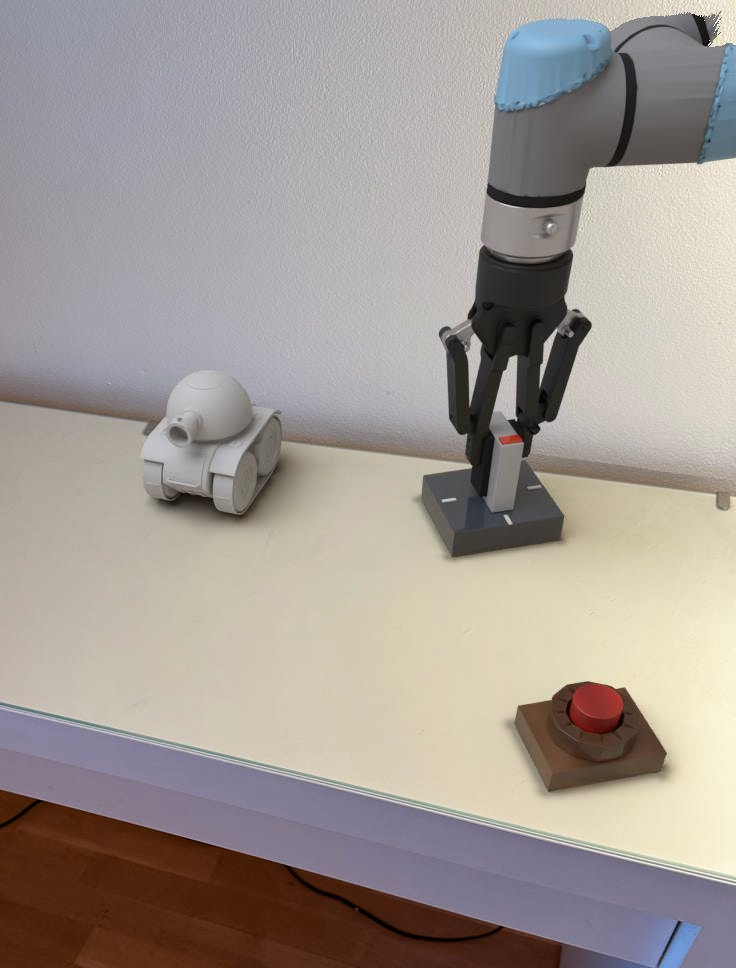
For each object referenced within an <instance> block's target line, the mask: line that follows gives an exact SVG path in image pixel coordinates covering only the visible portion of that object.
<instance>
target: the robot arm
mask: <svg viewBox="0 0 736 968" xmlns="http://www.w3.org/2000/svg"><path fill="white" fill-rule="evenodd" d="M720 13H721V11H720V12H719V14H720ZM711 14H712V13H711ZM716 14H717V13H716ZM719 14H718V15H717V16H716V15H715V14H712V15H711V17H710V15H709V16H708V17H707V16H705V15H704V16H703V17H702V15H701V17H700V15H699V16H697V15H695V14H691V13H690V12H689V13H688V12H687V13H686V14H685V12H684V14H682V13H681V14H680V13H679V14H678V15H677V14H676V15H671V16H669V15H668V16H667V15H666V16H665V17H664V16H650V17H643V18H637V19H634V20H630V21H628V22H625V23H623V24H621V25H620V26H619V27H617V28H615V29H614V30H612V31H609V29H608V28H607V27H606V26H604V25H603V24H601V23H598V22H594V21H589V19H582V18H575V19H568V18H547V19H546V18H545V19H539V20H534V21H530V22H527V23H524V24H522V25H519V26H518V27H517V28H515V29H513V30H512V32H511V33H510V34H508V37H507V39H506V40H505V41H504V45H503V50H502V56H501V61H500V67H499V73H498V80H497V86H496V91H495V94H494V96H493V104H494V112H493V124H492V134H491V143H490V155H489V165H488V175H487V183H486V190H485V198H484V205H483V213H482V222H481V231H480V241H481V243H482V244H483V245H482V246H481V247H480V249H479V251H478V259H477V260H478V261H477V267H476V278H475V287H474V288H475V289H474V301H473V304H472V305H471V308H470V309H469V311H468V313H467V316H466V317H467V318H466V320H464V321H462V322H461V323H459V324H457V325H456V326H454V327H453V328H451V326H449V325H445V326H443V327H441V328H440V329H439V331H438V337H439V340H440V341H441V343H442V346H443V348H444V350H445V356H446V359H445V360H446V380H447V381H446V382H447V405H448V419H449V422H450V423H451V424H452V426H453V428H454V430H455V431H456V432H457V434H458V435H459V436H465V435H466V441H465V451H464V455H465V458H466V459H467V461H468V462H469V464H470V466H471V468H472V471H471V479H470V482H471V484H472V486H473V487H474V489H475V490H476V492H477V494H478V495H479V497H483V496H487V492H488V484H489V477H490V470H491V463H492V455H493V448H494V441H495V437H494V436H493V435H492V433H491V432H490V430H489V426H490V422H491V418H492V414H493V412H494V410H495V406H496V402H497V397H498V393H499V390H500V389H499V388H500V386H501V383H502V377H503V373H504V372H505V371H507V368H508V365H509V361H510V358H512V357H516V382H515V383H516V385H515V386H516V387H515V417H516V419H515V418H512V419H511V418H510V419H507V420H508V422H509V423H510V424H511V426H512V427H513V429H514V430H515V431H516V433H517V434H518V435H519V436H520V437H521V439H522V441H523V443H524V446H523V453H522V459H525V458H528V457H529V456H530V454H531V451H532V445H533V440H534V439H533V438H534V436H536V435H538V434H539V433H540V431H541V430H542V428H541V427H540V424H542V423H545V422H546V423H552V422H554V421H555V420H556V419H557V417H558V415H559V411H560V408H561V405H562V402H563V399H564V396H565V394H566V393H565V392H566V389H567V386H568V383H569V380H570V377H571V374H572V370H573V367H574V364H575V361H576V358H577V354H578V352H579V349H580V346H581V344H582V343H583V342H584V340H585V339H586V337H587V336H588V335H589V333H590V331H591V330H592V327H593V324H592V322H591V320H590V319H589V318H588V317H586V315H585V314H584V313H583V312H582V311H580V309H578V308H573V309H569V308H568V305H567V301H566V297H565V296H566V295H567V293H568V289H569V283H570V277H571V272H572V267H573V260H574V252H573V250H572V249H571V248H573V247H574V246H575V243H576V241H577V236H578V230H579V224H580V219H581V212H582V207H583V202H584V197H585V193H586V188H587V179H588V176H589V172H590V169H593V168H614V167H633V166H656V165H657V166H658V165H659V166H660V165H677V164H678V165H679V164H681V165H682V164H696V165H703V164H704V163H711V162H718V161H725V160H732V159H736V45H733V44H732V43H726V44H725V45H722V46H715V47H709V46H710V45H711V44H712V43H713V40H714V39H715V38H716V37H717V32H718V29H719V28H718V29H717V30H716V31H715V29H716V27H717V24H719V23H718V22H719V21H718V22H717V23H716V24H715V22H716V21H717V19H718V17H719ZM715 16H716V17H715ZM709 17H710V18H709ZM714 18H715V19H714ZM721 18H722V17H721ZM721 18H720V19H719V20H721ZM713 19H714V20H713ZM704 20H705V21H704ZM714 24H715V26H714ZM713 26H714V27H713ZM719 27H720V26H719ZM714 32H715V33H714ZM720 33H721V32H720ZM720 33H719V34H720ZM719 34H718V35H719ZM709 40H710V41H709ZM710 42H711V44H710V45H709V46H708V44H709V43H710ZM556 330H557V331H556ZM555 331H556V333H555V336H554V339H553V341H552V345H551V348H550V350H549V351H550V352H549V355H548V358H547V360H546V361H547V362H546V364H545V369H544V372H543V375H542V379H541V366H542V365H543V364H544V350H545V343H546V342H547V341H548V339H550V337H551V336H552V334H553V333H554V332H555ZM474 334H475V336H476V338H477V339H478V340H479V342H480V343H481V346H480V350H479V351H480V352H479V356H480V362H479V366H478V370H477V373H476V374H477V375H476V378H475V384H474V387H473V391H472V396H471V400H470V371H469V370H470V368H469V367H470V366H469V359H468V355H467V353H468V352H469V351H470V350H471V345H472V343H471V340H472V339H471V338H472V337H473V335H474Z"/></svg>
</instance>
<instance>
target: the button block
mask: <svg viewBox="0 0 736 968" xmlns="http://www.w3.org/2000/svg"><path fill="white" fill-rule="evenodd" d="M587 684H601V685H605V686H607V687H610V688H612V689H613V690H615V691H616V692H617V693H618V694H619V695H620V696H621V698H622V700H623V710H622V713H621V717H620V720H619V723H618V725H617V727H616V728H615V729H614V730H612V731H610V732H608V733H604V734H595V733H591V732H586V731H584V730H582V729H580V728H579V727H577V726H576V725H575V724H574V723H573V721H572V719H571V717H570V707H571V703H572V700H573V696H574V693H575V691H576V690H577V689H578V688H580V687H581V686H583V685H587ZM513 724H514V726H515V728H516V730H517V732H518V734H519V736H520V739H521V741H522V742H523V744H524V746H525V748H526V750H527V752H528V754H529V756H530V758H531V760H532V762H533V764H534V765H535V768H536V770H537V773H538V775H539V776H540V778H541V781H542V782H543V784H544V787H545V788H546V790H547V792H554V791H558V790H563V789H564V790H565V789H570V788H575V787H580V786H581V787H582V786H586V785H592V784H598V783H604V782H608V781H614V780H618V779H626V778H630V777H636V776H643V775H646V774H653V773H658V772H661V771H662V768H663V765H664V763H665V760H666V757H667V755H668V752H667V751H666V749H665V747H664V746H663V744H662V743H661V741H660V740H659V737H658V736H657V734H655V731H654V729H652V727H651V725H650V724H649V721H648V720H647V719H646V717H645V716H644V715H643V712H642V711H641V710H640V708H639V706H638V705H637V703H636V702H635V701H634V699H633V697H632V696H631V693H630V692H629V691H628V690H627V688H626V687H625V686H624V687H619V688H615V687H614V686H612V685H609V684H605V683H600V682H596V681H595V682H594V681H591V680H586V681H579V682H574V683H567V684H566V685H564V686H563V687H562V688H560V689H559V690H558V691H557V692H556V693H554V694H553V695H552V697H551V699H549V700H543V701H537V702H531V703H525V704H520V705H519V704H518V705H517V707H516V713H515V719H514V723H513Z"/></svg>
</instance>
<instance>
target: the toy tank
mask: <svg viewBox="0 0 736 968" xmlns="http://www.w3.org/2000/svg"><path fill="white" fill-rule="evenodd" d="M165 413H166V415H165V416H164V418H162V420H161V421H160V422H159V423H158V424H157V426H155V428H154V429H153V430H152V431H151V432H150V433H149V435H148V436H147V438H146V440H145V441H144V444H143V446H142V448H141V451H140V455H139V459H140V460H143V465H142V482H143V483H142V484H143V487H144V491H145V492H146V494H147V495H148V496H149V497H151V498H156V499H160V500H164V501H170V502H172V501H175V500H176V499H177V498H179V497H180V495H182V493H183V494H185V493H187V494H190V495H193V496H196V495H198V496H201V497H203V498H206V497H207V498H212V500H213V504H214V506H215V508H216V509H217V510H218V511H219V512H222V513H228V514H233V515H238V516H242V515H243V514H245V513H246V512H247V511H248V509H249V507H250V506H251V505H252V503H253V502H254V500H255V499H256V498H257V496H258V495H259V493H260V491H261V490H262V489H263V487H264V486H265V485H266V483H267V481H268V480H269V479H270V477H271V476H272V474H273V473H274V471H275V469H276V467H277V464H278V461H279V458H280V454H281V450H282V441H283V427H282V422H281V419H280V417H279V416H278V415H281V414H282V411H281V410H280V409H277V408H271V407H270V408H269V407H264V406H259V405H258V406H257V404H256V403H253V402H251V397H250V396H249V394H248V392H247V390H246V389H245V387H244V385H243V384H242V383H240V381H238V380H237V379H236V378H235V377H233V376H232V375H230V374H228V373H226V372H224V371H221V370H215V369H203V370H197V371H194V372H192V373H190V374H188V375H186V376H185V377H184V378H182V379H181V380H180V381H179V382H177V384H176V385H175V386H174V388H173V389H172V391H171V393H170V395H169V397H168V400H167V405H166V412H165Z"/></svg>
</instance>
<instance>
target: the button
mask: <svg viewBox="0 0 736 968" xmlns="http://www.w3.org/2000/svg"><path fill="white" fill-rule="evenodd" d="M601 684H602V683H600V684H587V685H583V686H581V687H580V688H578V689H577V690H576V691H575V693H574V696H573V700H572V703H571V707H570V717H571V719H572V721H573V723H574V724H575V725H576V726H577V727H579V728H580V729H582V730H584V731H586V732H591V733H595V734H604V733H608V732H610V731H612V730H614V729H615V728H616V727H617V725H618V723H619V720H620V717H621V713H622V710H623V700H622V698H621V696H620V695H619V694H618V693H617V692H616V691H615V690H613V689H612V688H610V687H607V686H605V685H606V684H605V685H601Z"/></svg>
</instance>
